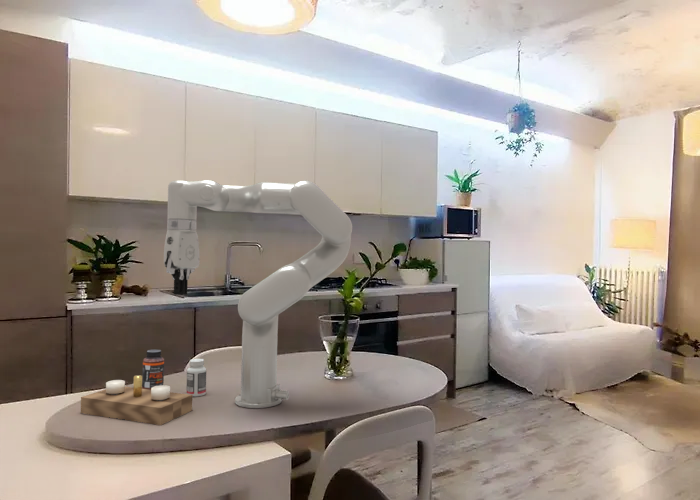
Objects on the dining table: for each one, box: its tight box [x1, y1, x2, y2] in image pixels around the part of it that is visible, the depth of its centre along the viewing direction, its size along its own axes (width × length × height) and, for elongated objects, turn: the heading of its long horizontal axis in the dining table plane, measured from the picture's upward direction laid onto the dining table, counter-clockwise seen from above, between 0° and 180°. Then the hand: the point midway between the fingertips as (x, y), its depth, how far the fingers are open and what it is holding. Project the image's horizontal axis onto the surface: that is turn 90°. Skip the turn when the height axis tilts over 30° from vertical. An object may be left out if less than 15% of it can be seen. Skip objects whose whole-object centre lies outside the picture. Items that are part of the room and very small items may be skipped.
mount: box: [80, 386, 193, 426], centre depth 128 cm, size 24×12×4 cm, turn 72°
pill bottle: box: [186, 358, 207, 398], centre depth 145 cm, size 5×5×10 cm
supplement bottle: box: [142, 349, 165, 390], centre depth 150 cm, size 6×6×11 cm
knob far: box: [105, 379, 126, 395], centre depth 130 cm, size 4×4×6 cm
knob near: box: [151, 384, 171, 401], centre depth 126 cm, size 4×4×6 cm
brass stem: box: [133, 374, 142, 397], centre depth 128 cm, size 2×2×5 cm
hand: (180, 294), depth 138 cm, fingers closed
